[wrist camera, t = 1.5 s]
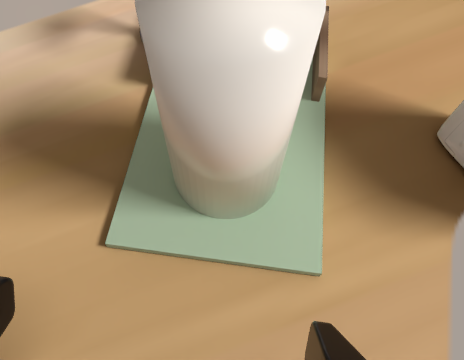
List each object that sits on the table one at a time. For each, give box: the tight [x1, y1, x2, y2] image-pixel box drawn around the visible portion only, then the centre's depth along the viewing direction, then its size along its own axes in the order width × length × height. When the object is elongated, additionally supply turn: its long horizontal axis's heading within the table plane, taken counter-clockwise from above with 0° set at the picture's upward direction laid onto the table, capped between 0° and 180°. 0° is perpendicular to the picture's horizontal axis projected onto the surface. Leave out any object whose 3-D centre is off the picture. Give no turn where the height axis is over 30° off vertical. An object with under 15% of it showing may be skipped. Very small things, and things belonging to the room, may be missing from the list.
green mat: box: [105, 58, 326, 276], centre depth 28 cm, size 21×13×1 cm, turn 172°
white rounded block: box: [135, 0, 326, 219], centre depth 20 cm, size 7×7×13 cm
